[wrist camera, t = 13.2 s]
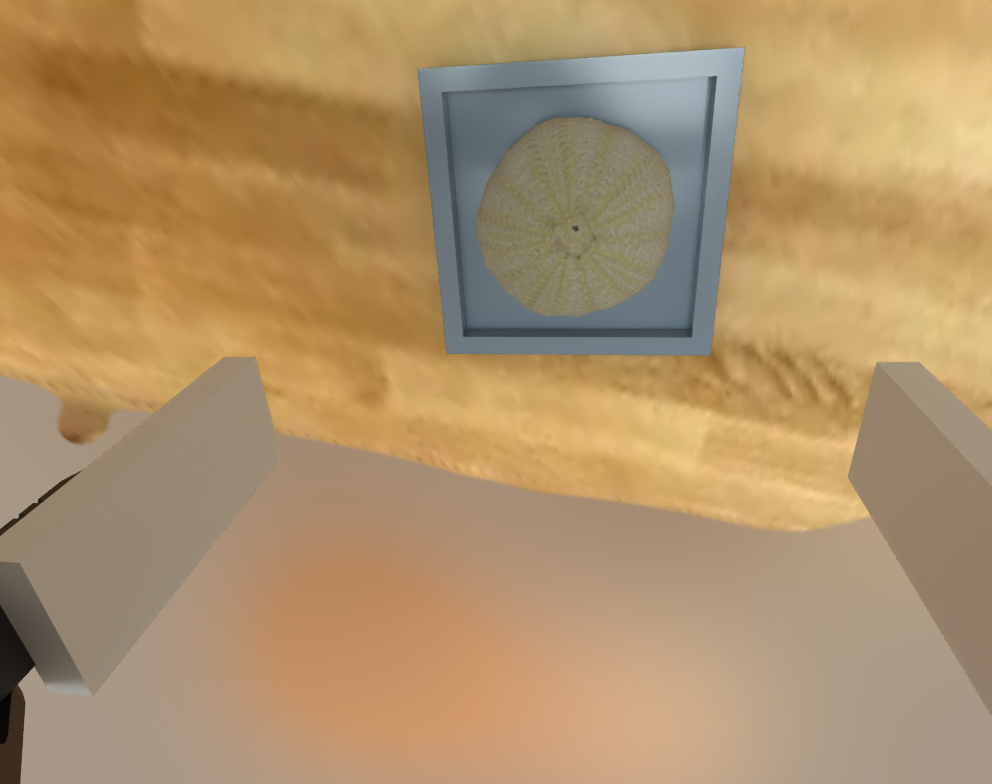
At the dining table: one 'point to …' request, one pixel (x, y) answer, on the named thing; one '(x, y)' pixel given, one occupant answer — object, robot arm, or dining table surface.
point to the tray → (617, 101)
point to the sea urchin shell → (576, 217)
